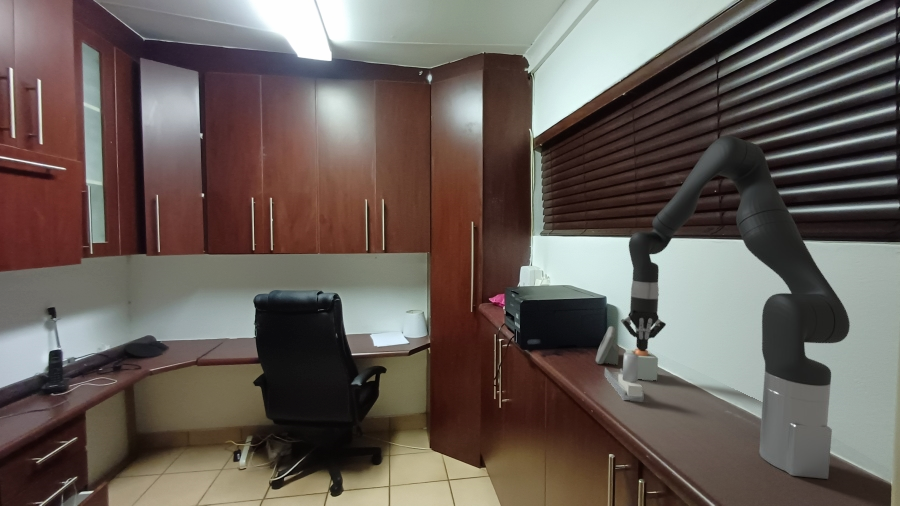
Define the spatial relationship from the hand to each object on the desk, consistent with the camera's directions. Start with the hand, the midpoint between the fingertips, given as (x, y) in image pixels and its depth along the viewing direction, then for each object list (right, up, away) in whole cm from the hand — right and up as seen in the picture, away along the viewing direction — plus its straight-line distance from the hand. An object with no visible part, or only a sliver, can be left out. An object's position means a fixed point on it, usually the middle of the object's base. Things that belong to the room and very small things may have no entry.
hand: (641, 350), depth 115 cm
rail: (-11, -8, -9) cm, 16 cm away
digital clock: (-5, -8, +15) cm, 18 cm away
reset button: (0, -3, 0) cm, 3 cm away
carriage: (-11, -7, -15) cm, 20 cm away
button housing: (0, -8, 0) cm, 8 cm away
